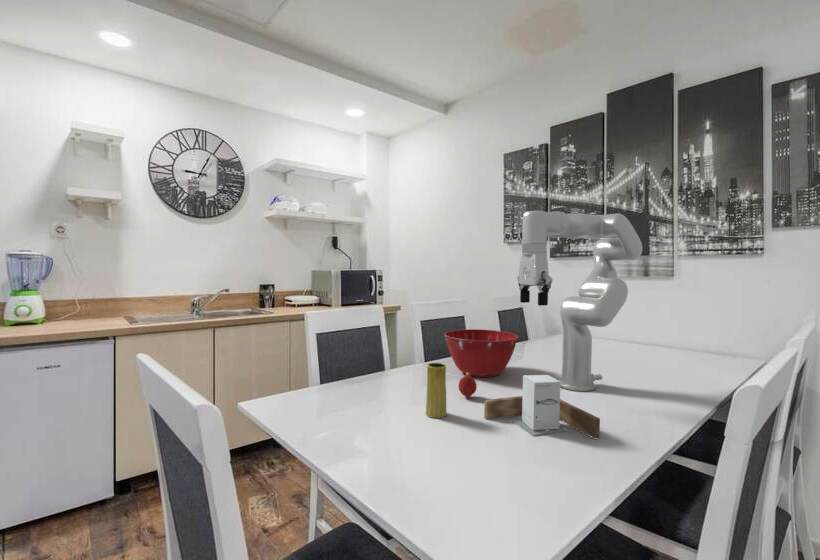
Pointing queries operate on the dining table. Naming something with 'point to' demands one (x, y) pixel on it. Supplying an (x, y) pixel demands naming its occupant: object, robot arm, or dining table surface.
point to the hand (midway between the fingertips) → (533, 303)
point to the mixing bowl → (481, 350)
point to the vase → (436, 390)
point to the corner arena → (567, 414)
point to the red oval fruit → (467, 385)
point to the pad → (537, 432)
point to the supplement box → (541, 402)
